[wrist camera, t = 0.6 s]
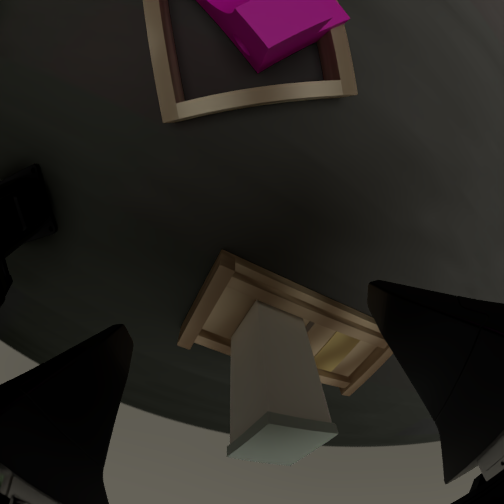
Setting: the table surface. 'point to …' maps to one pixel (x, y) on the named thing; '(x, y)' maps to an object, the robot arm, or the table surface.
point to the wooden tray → (292, 301)
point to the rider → (275, 390)
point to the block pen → (177, 109)
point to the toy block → (274, 25)
